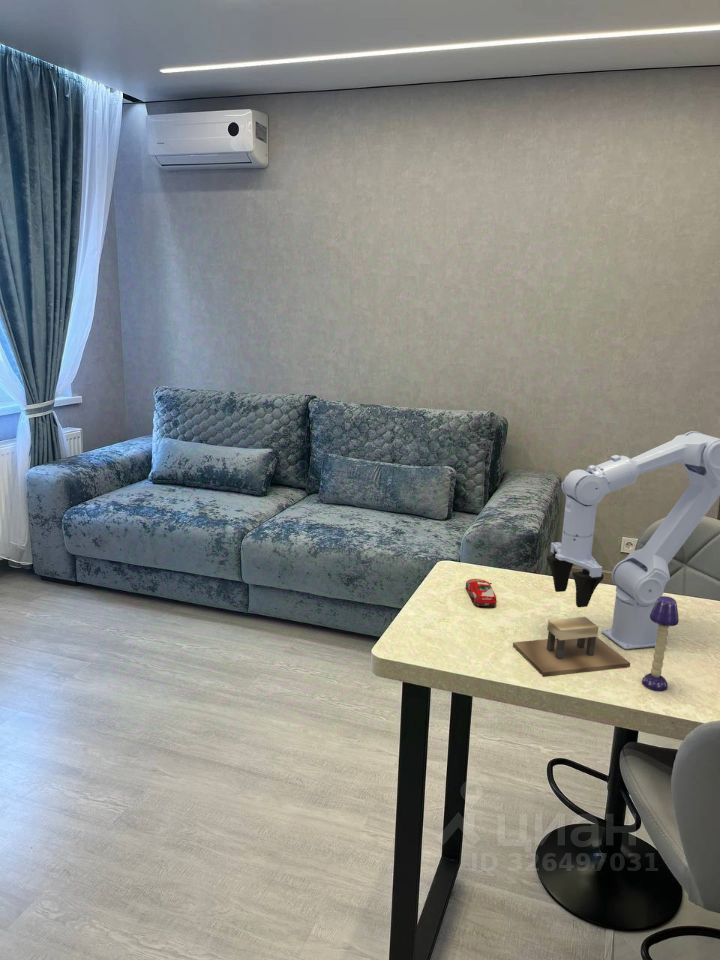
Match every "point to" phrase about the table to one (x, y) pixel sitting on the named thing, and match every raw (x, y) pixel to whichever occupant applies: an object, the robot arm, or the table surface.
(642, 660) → the table surface
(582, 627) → the oak stool
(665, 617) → the toy lamp
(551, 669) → the walnut board
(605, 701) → the table surface
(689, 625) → the table surface
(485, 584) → the race car
